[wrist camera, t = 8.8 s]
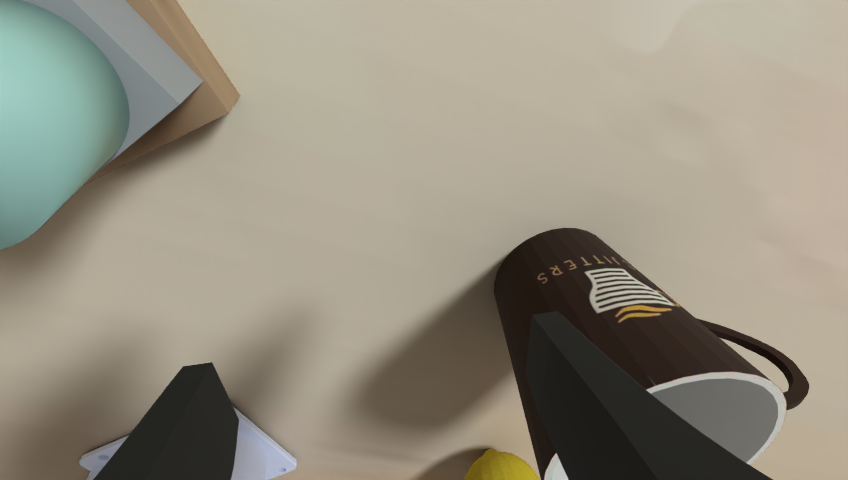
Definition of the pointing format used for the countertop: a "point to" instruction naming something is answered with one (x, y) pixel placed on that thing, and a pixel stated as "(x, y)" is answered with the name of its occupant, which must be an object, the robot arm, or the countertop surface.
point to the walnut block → (202, 104)
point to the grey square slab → (131, 59)
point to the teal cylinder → (51, 115)
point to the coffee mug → (640, 343)
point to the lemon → (500, 467)
